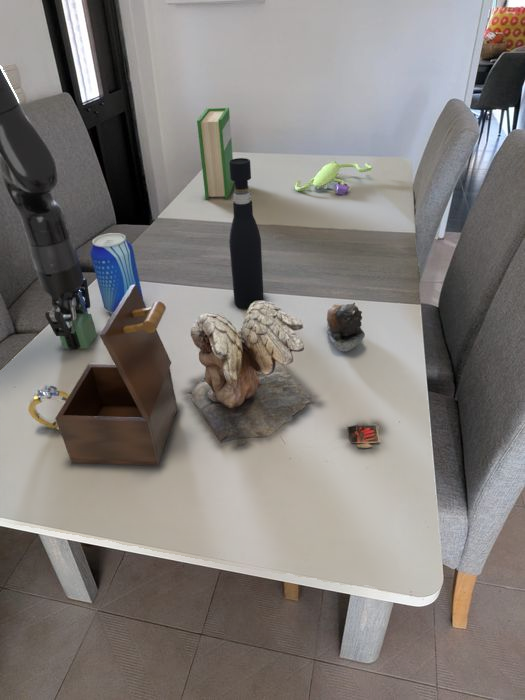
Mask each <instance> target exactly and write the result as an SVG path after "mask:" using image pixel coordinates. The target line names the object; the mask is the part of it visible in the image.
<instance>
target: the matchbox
mask: <svg viewBox="0 0 525 700" xmlns="http://www.w3.org/2000/svg"><path fill="white" fill-rule="evenodd" d="M346 430H347V431H346V432H347V436H348V438H349V440H350V442H351V444H354V443H355V445H356V447H358V448H359V449H360V448H361V449H368V448H372V447H373V444H374V443H376V444H377V443H380V435H379V433H380V427H379V426H378V425H377V424H375V423H371V424H369V423H367V424H354V425H350V426H347V428H346Z"/></svg>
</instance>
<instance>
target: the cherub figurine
mask: <svg viewBox="0 0 525 700" xmlns="http://www.w3.org/2000/svg"><path fill="white" fill-rule="evenodd" d="M303 328H304V323H303V322H302V320H301V319H299V318H297V317H295V316H293V315H292V314H289V313H287V312H285V311H284V310H283V309H282V308H280V307H279V306H277V305H276V304H275V303H273V302H270V301H267V300H264V301H255V302H253V303H252V304H251V305H250V306H249V308H248V309H247V311H246V313H245V316H244V320H243V323H242V325H241V327H240V330H238V331H237V328H236V326H235V325H234V324H233V323H232V321H231V320H230V319H228V318H227V317H225V316H223V315H222V314H219V313H216V312H202V313H201V314H200V315H199V316H198V317H197V318H196V319H195V321H193V324H192V325H191V328H190V337H191V339H192V341H193V343H194V345H195V347H196V348H198V349H199V352H198V361H199V363H200V364H201V365H202V366H203V367H205V371H204V377H203V379H204V381H202V380H198V381H196V382H195V385H194V388H193V389H192V390H190V391H188V392H186V393H187V394H191V397H190V399H191V401H192V403H193V405H194V406H195V407H196V409H197V410H198V412H199V413H200V415H201V416H202V418H203V420H204V421H206V423H207V425H208V426H209V428H210V429H211V430H212V432H213V433H214V435H215V436H216V438H217V439H218V440H219V442H220V443H224V442H228V441H231V440H235V439H237V438H238V440H237V443H236V447H237V448H238V447H239V446H242V445H244V444H246V443H247V442H246V441H245V439H244V438H248V439H251V438H265V437H269V436H270V435H272V434H273V433H275V432H277V430H279V429H280V428H281V427H282V426H283V424H286V423H288V422H289V423H290V422H291V421H292V420H293V416H294V415H296V414H298V413H299V411H302V410H303V409H304V408H305V407H306V406H307V404H308V403H311V404H315V402H314V401H311V400H310V399H311V398H312V397H311V396H310V395H309V394H308V392H307V391H306V390H305V389H304V388H303V387H302V386H301V384H300V383H298V382H297V380H295V379H294V378H293V376H291V374H290V373H289V371H288V370H287V369H286V368H285V366H286V365H290V364H291V363H293V362H294V356H293V353H292V352H294V353H295V352H296V353H297V352H298V353H300V352H303V351H304V350H305V343H304V341H303V339H302V338H301V337H300V336H299V335H298V334H297V333H296V332H295V331H299V330H301V329H302V330H303ZM283 365H285V366H283Z"/></svg>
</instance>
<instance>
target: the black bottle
mask: <svg viewBox="0 0 525 700" xmlns="http://www.w3.org/2000/svg"><path fill="white" fill-rule="evenodd" d="M229 165H230V176H231V177H230V178H231V180H232V181H234V192H233V195H232V196H233V202H232V211H233V218H232V220H231V226H230V231H229V238H228V244H229V245H228V246H229V257H230V268H231V280H232V287H233V288H232V290H233V291H232V292H233V303H234V305H235V307H237V308H238V309H241V310H248V308H249V306H250V305H251V304H252V303H253V302H255V301H265V299H264V297H265V296H264V276H263V274H264V273H263V258H262V257H263V256H262V238H261V234H260V230H259V226H258V224H257V221H256V218H255V216H254V211H253V201H252V200H251V199H252V197H251V192H250V190H249V182H248V181H250V180H251V179H252V172H251V171H252V167H251V159H250V158H245V157H237V158H233V159H232V160H230V162H229Z"/></svg>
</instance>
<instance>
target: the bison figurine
mask: <svg viewBox="0 0 525 700" xmlns="http://www.w3.org/2000/svg"><path fill="white" fill-rule="evenodd" d="M362 313H363V311H361V310H360V309H359V307H358V306H356V303H355V302H353V303H347V304H332V305H331V306H330V307H329V308H328V309H327V314H326V322H327V326H326V333H327V335H328V337H329V342H330V343H331V344H332V346H333V347H334V348H336V349H338V350H339V351H340V352H348V351H351V350H353V349H355V347H357V346H358V345H359V344H360V343H362V341H363V339H364V338H365V336H366V334H365V332H364V330H363V328H362V320H363V316H362Z"/></svg>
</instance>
